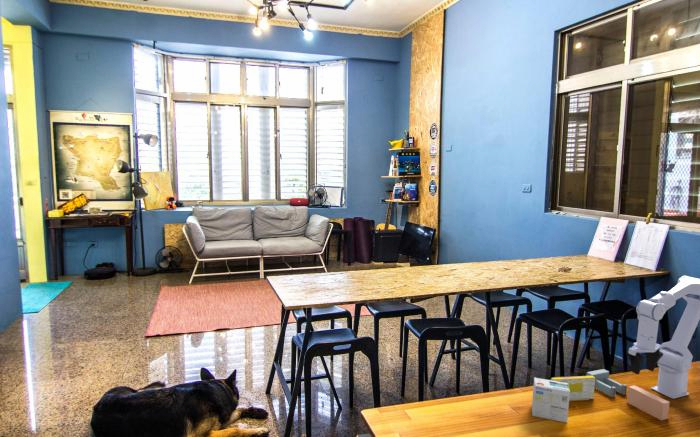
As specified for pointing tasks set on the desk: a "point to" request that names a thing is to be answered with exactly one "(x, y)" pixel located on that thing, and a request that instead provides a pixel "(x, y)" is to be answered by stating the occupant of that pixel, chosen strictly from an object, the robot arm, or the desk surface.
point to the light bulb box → (550, 399)
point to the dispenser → (607, 383)
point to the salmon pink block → (648, 402)
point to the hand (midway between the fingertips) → (642, 371)
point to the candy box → (579, 387)
